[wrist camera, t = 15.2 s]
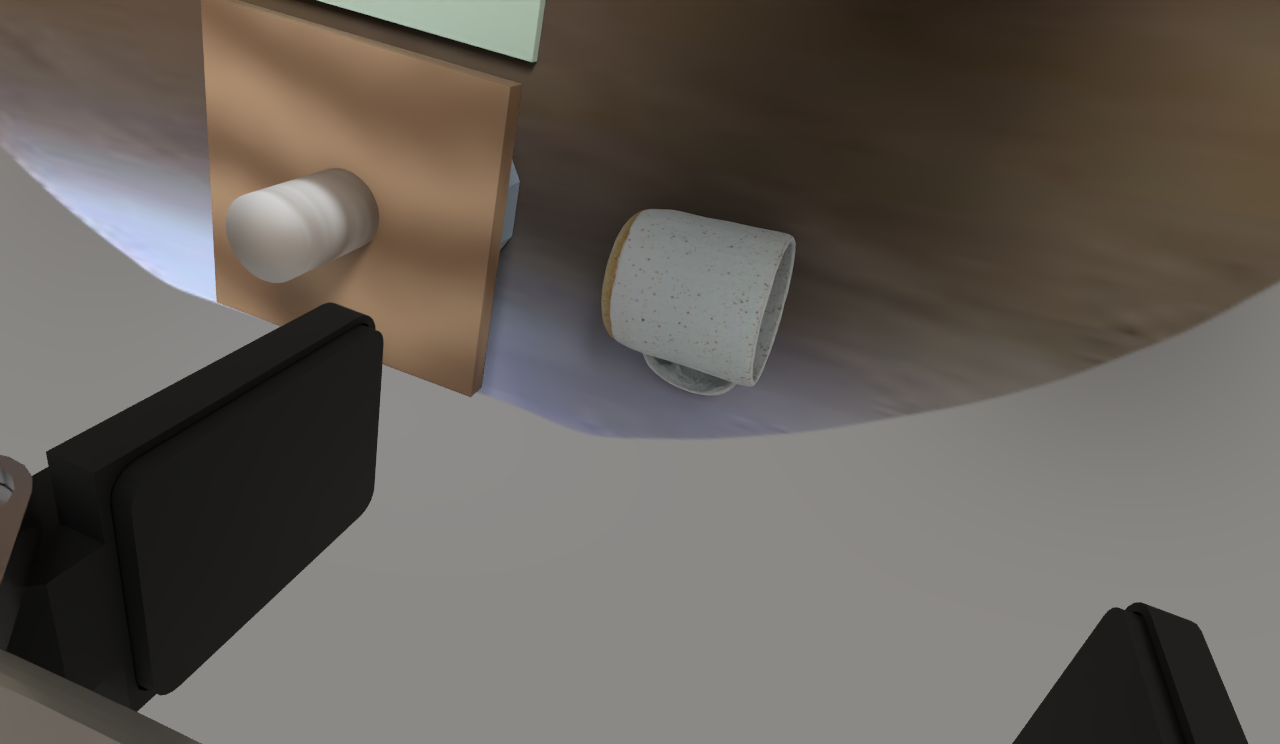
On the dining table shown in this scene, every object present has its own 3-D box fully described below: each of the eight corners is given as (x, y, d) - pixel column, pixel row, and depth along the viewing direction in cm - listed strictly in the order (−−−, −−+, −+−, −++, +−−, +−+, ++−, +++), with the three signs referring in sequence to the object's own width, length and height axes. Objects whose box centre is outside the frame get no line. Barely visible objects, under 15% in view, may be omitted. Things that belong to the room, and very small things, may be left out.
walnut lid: (220, -5, 38) (93, -4, 32) (522, 84, 36) (442, 103, 30) (232, 294, 46) (131, 339, 40) (481, 387, 43) (412, 449, 37)
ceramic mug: (649, 186, 42) (597, 227, 35) (804, 216, 40) (779, 265, 34) (630, 364, 47) (581, 428, 41) (767, 397, 45) (739, 470, 39)
